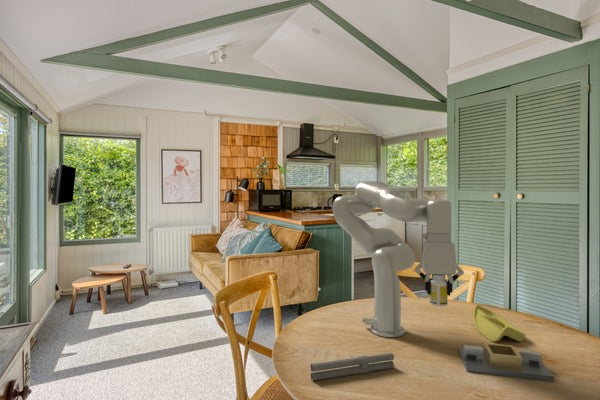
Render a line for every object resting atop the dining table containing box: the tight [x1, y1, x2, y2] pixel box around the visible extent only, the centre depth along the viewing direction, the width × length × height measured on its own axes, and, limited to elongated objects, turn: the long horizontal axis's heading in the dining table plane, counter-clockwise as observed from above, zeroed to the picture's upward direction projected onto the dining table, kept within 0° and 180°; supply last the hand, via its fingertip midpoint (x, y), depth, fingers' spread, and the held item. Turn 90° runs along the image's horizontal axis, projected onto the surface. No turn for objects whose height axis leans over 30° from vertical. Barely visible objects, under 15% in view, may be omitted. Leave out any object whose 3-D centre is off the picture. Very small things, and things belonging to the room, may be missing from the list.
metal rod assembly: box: [310, 352, 395, 381], centre depth 103 cm, size 26×3×5 cm, turn 106°
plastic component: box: [473, 304, 527, 343], centre depth 133 cm, size 20×7×10 cm
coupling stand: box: [458, 342, 555, 382], centre depth 108 cm, size 22×14×4 cm, turn 75°
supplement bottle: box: [429, 274, 449, 307], centre depth 116 cm, size 5×5×10 cm
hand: (438, 293), depth 116 cm, fingers closed on supplement bottle, 5 cm apart
